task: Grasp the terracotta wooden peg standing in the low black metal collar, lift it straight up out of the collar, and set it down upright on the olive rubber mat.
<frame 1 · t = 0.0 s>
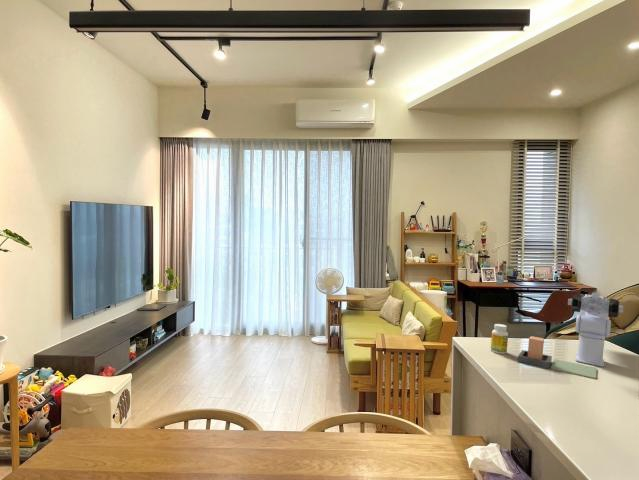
hand: (594, 306, 122), 22 cm above the table, tool horizontal, fingers open, 7 cm apart
peg: (534, 362, 134), resting in metal collar
rubber mat: (573, 368, 129), on the table
metal collar: (534, 361, 134), on the table
supplement bottle: (498, 352, 143), on the table
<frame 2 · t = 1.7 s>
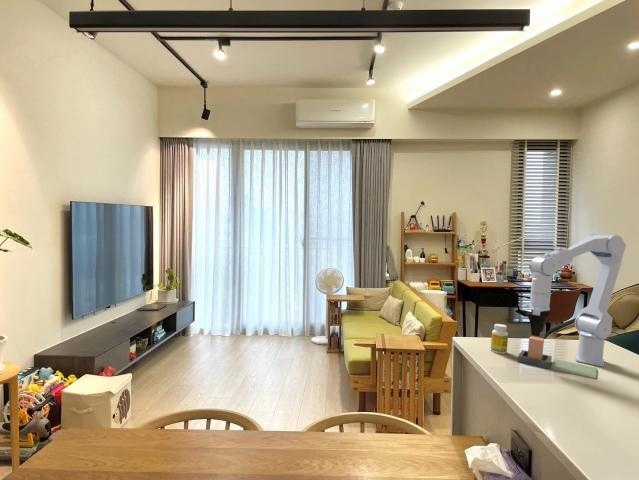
hand: (537, 333, 133), 10 cm above the table, tool pointing down, fingers open, 7 cm apart
nothing on the table moved.
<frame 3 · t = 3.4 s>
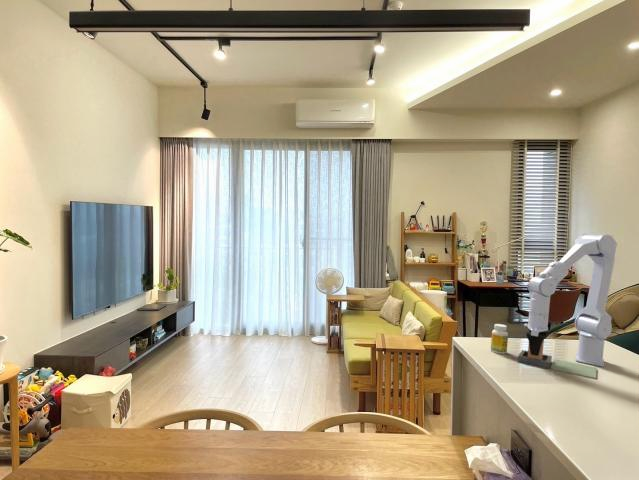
hand: (535, 353, 134), 3 cm above the table, tool pointing down, fingers closed on peg, 4 cm apart
peg: (534, 362, 134), resting in metal collar, touching gripper
everything else where it was.
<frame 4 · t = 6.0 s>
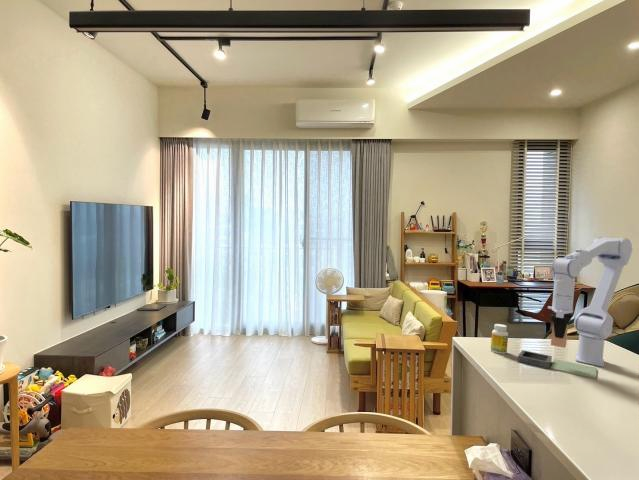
hand: (559, 336, 131), 10 cm above the table, tool pointing down, fingers closed on peg, 4 cm apart
peg: (558, 345, 131), point 7 cm above the table, touching gripper
everything else where it was.
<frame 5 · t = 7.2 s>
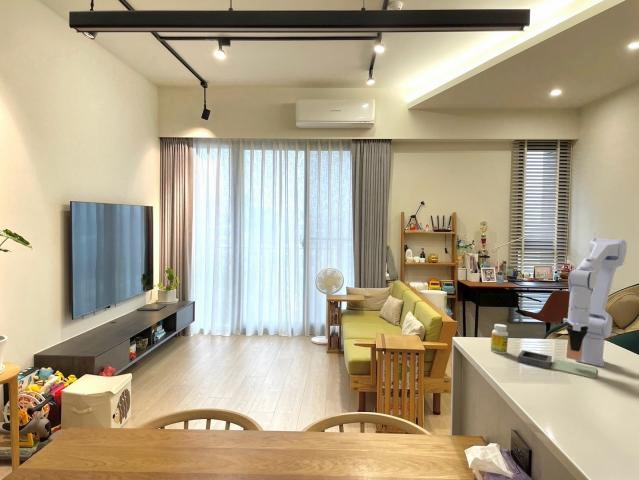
hand: (575, 349, 129), 6 cm above the table, tool pointing down, fingers closed on peg, 4 cm apart
peg: (573, 358, 129), point 4 cm above the table, touching gripper
everything else where it was.
when the fingers open (5 cm above the table, at t = 8.4 s): peg drops 2 cm, resting on rubber mat.
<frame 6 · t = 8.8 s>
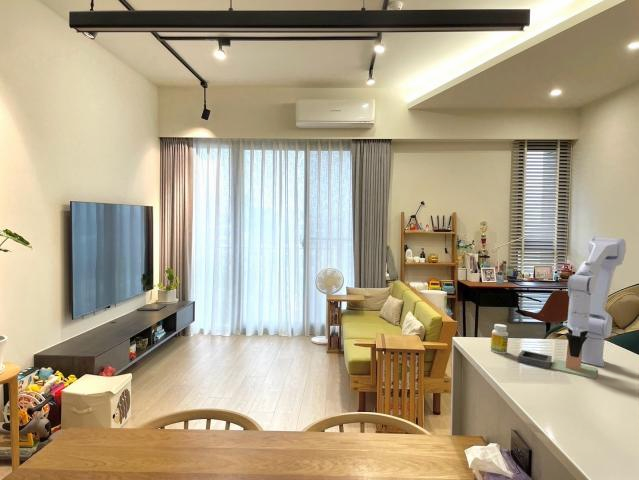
hand: (575, 353, 129), 5 cm above the table, tool pointing down, fingers open, 7 cm apart
peg: (573, 367, 129), resting on rubber mat
everything else where it was.
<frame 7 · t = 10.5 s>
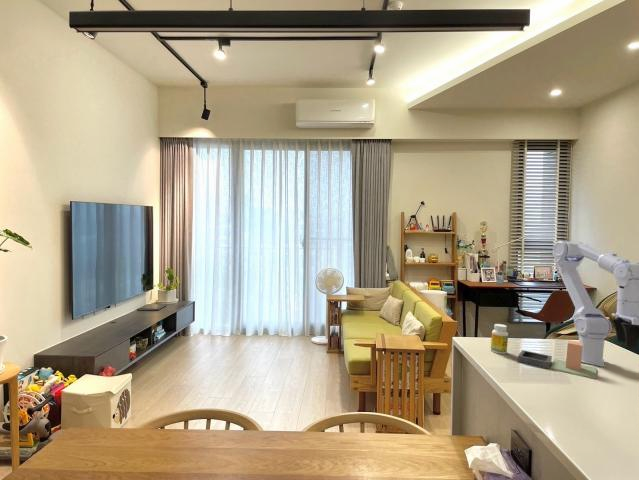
hand: (626, 344, 125), 10 cm above the table, tool pointing down, fingers open, 7 cm apart
nothing on the table moved.
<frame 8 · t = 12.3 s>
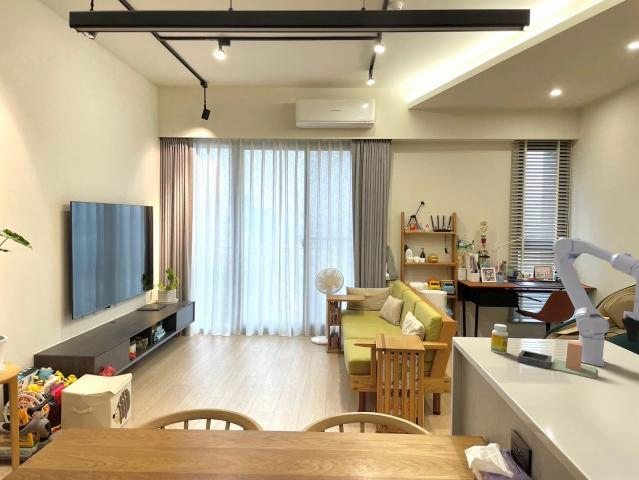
nothing on the table moved.
at the end: peg inside the target area on the rubber mat (0.2 cm from its centre), point 0.4 cm above the rubber mat's base; peg tilted 0°; the gripper is holding nothing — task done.
